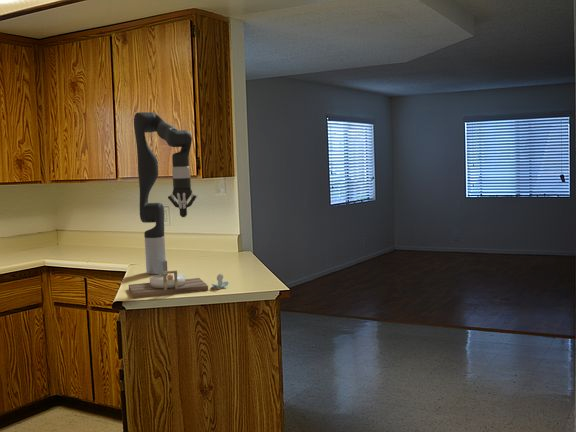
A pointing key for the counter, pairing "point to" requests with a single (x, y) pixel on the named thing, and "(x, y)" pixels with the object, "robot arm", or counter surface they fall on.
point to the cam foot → (158, 280)
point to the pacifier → (219, 283)
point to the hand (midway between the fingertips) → (183, 217)
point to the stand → (189, 286)
